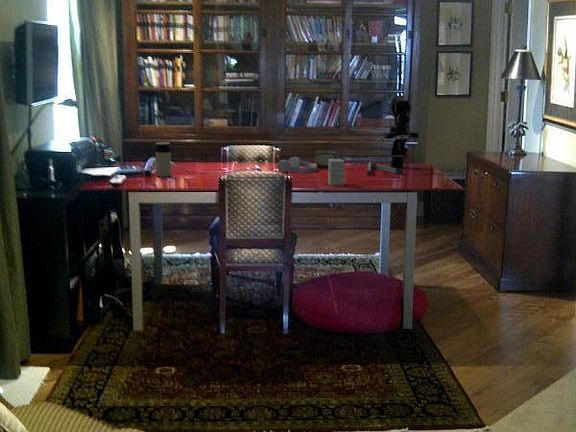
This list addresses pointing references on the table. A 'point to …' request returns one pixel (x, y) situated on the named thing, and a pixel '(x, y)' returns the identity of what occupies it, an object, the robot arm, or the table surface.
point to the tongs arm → (389, 169)
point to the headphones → (296, 166)
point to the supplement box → (336, 172)
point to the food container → (324, 158)
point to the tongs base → (370, 167)
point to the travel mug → (163, 159)
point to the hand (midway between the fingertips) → (400, 150)
